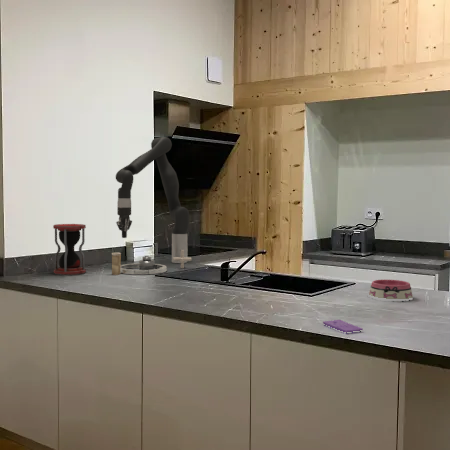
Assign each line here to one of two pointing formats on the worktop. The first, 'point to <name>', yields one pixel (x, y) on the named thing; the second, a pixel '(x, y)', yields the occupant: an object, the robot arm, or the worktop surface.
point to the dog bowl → (391, 289)
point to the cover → (146, 263)
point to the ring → (154, 271)
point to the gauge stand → (116, 263)
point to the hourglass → (69, 249)
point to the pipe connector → (182, 259)
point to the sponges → (342, 326)
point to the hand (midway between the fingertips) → (124, 237)
